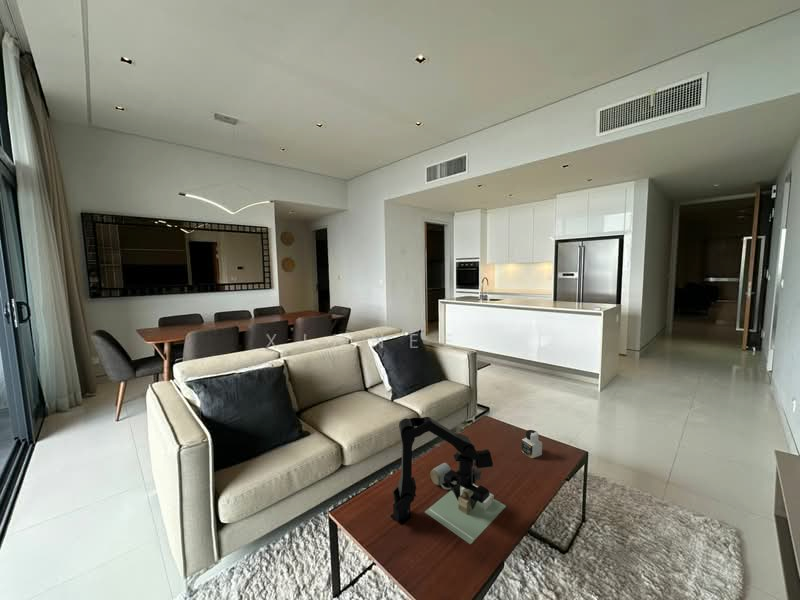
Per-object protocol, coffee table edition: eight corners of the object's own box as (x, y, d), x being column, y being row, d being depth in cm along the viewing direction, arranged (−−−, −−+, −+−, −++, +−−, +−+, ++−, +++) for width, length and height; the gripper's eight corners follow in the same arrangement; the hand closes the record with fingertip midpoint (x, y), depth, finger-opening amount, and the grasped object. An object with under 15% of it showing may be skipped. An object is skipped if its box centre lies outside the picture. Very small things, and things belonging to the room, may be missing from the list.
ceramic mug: (429, 480, 152) (429, 465, 151) (442, 474, 157) (442, 459, 156) (444, 494, 144) (444, 478, 143) (458, 487, 148) (458, 471, 147)
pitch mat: (470, 545, 117) (470, 544, 117) (424, 512, 133) (424, 511, 133) (506, 506, 135) (506, 505, 135) (461, 482, 151) (461, 481, 151)
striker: (466, 514, 131) (466, 497, 130) (458, 509, 134) (458, 492, 133) (472, 509, 134) (472, 492, 133) (464, 504, 137) (464, 487, 136)
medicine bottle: (521, 451, 174) (521, 430, 172) (531, 448, 177) (531, 427, 175) (531, 458, 167) (532, 436, 166) (542, 455, 170) (542, 433, 169)
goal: (485, 509, 133) (485, 503, 133) (460, 495, 142) (460, 489, 141) (493, 501, 138) (493, 495, 137) (469, 488, 146) (469, 481, 146)
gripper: (496, 469, 131) (496, 505, 133) (458, 451, 144) (458, 484, 146) (481, 483, 123) (481, 521, 125) (442, 462, 137) (442, 496, 138)
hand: (465, 504), depth 134 cm, fingers open, 7 cm apart
